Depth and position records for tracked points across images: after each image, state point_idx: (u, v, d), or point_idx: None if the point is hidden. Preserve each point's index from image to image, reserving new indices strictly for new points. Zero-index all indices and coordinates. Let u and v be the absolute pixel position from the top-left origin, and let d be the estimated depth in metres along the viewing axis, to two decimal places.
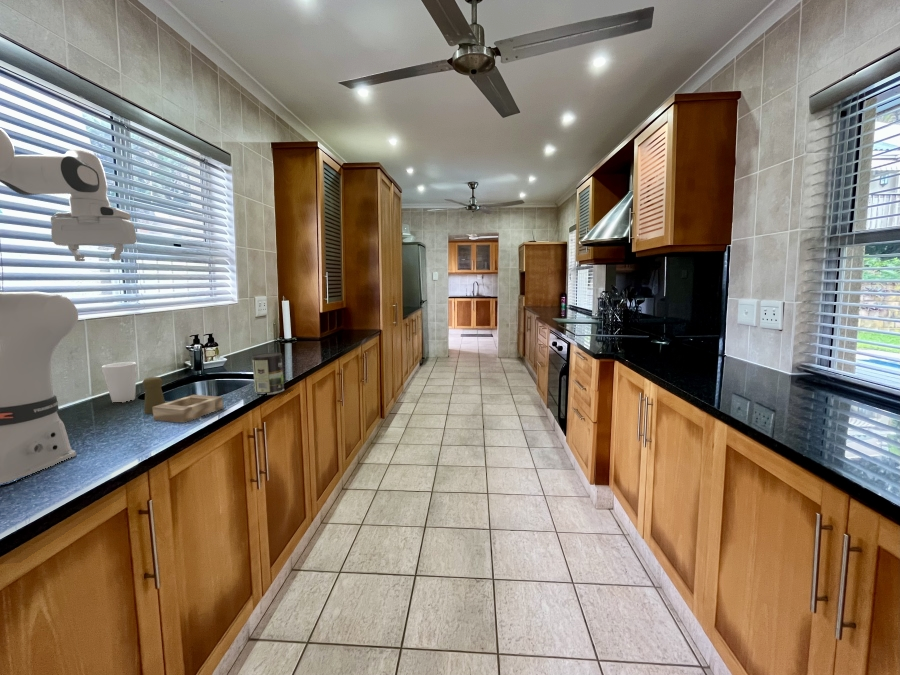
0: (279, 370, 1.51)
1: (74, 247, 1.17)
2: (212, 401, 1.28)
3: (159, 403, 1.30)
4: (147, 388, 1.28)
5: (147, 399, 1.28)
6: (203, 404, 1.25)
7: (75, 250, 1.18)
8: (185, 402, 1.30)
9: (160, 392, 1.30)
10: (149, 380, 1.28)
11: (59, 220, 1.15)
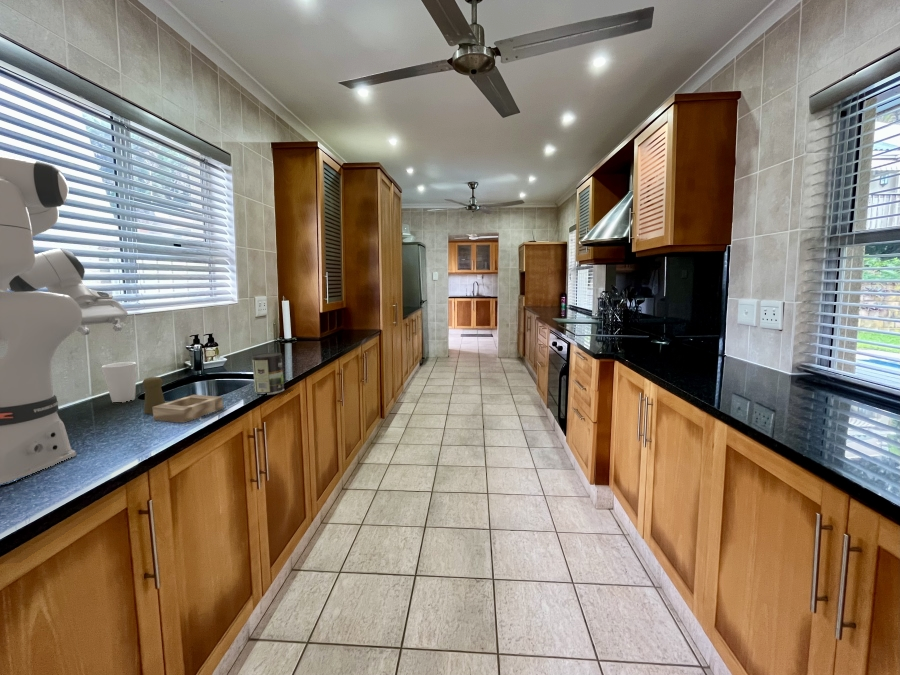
0: (279, 370, 1.51)
1: None
2: (212, 401, 1.28)
3: (159, 403, 1.30)
4: (147, 388, 1.28)
5: (147, 399, 1.28)
6: (203, 404, 1.25)
7: None
8: (185, 402, 1.30)
9: (160, 392, 1.30)
10: (149, 380, 1.28)
11: None
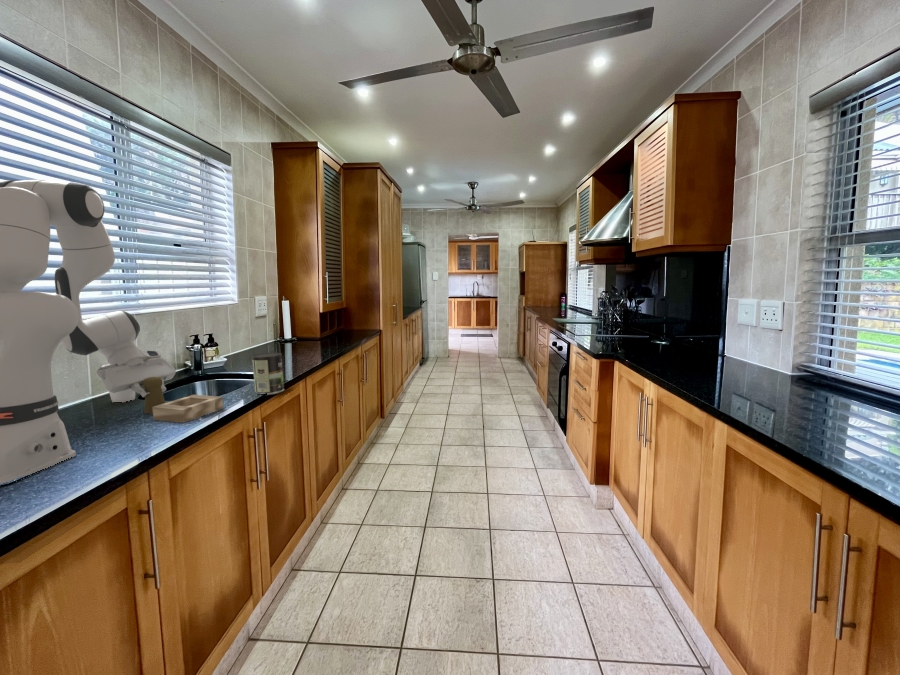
0: (279, 370, 1.51)
1: None
2: (212, 401, 1.28)
3: (159, 403, 1.30)
4: (147, 388, 1.28)
5: (147, 399, 1.28)
6: (203, 404, 1.25)
7: None
8: (185, 402, 1.30)
9: (160, 392, 1.30)
10: (149, 380, 1.28)
11: (112, 368, 1.24)
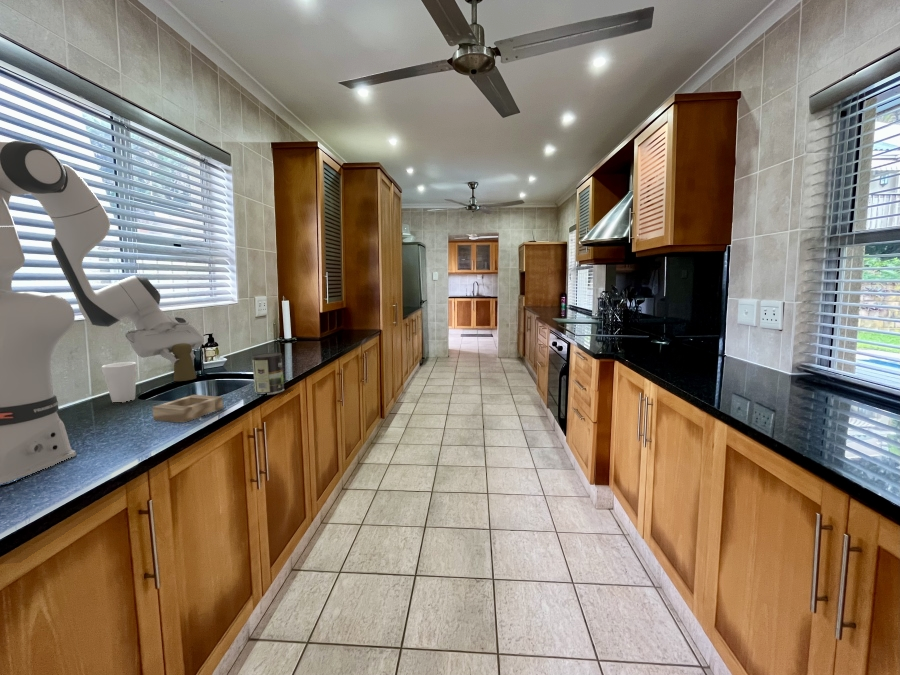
0: (279, 370, 1.51)
1: None
2: (212, 401, 1.28)
3: (189, 370, 1.24)
4: (177, 354, 1.22)
5: (176, 366, 1.23)
6: (203, 404, 1.25)
7: None
8: (185, 402, 1.30)
9: (190, 359, 1.25)
10: (179, 346, 1.22)
11: (141, 332, 1.19)
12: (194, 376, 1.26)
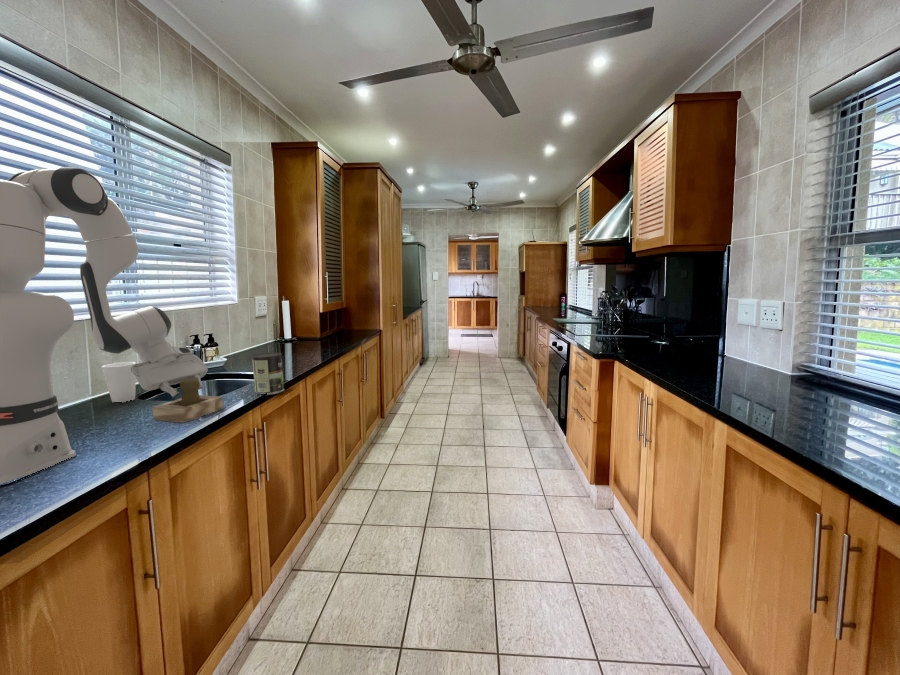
0: (279, 370, 1.51)
1: None
2: (212, 401, 1.28)
3: None
4: (185, 391, 1.23)
5: (184, 402, 1.24)
6: (203, 404, 1.25)
7: None
8: None
9: (197, 395, 1.26)
10: (187, 383, 1.23)
11: (146, 365, 1.20)
12: None
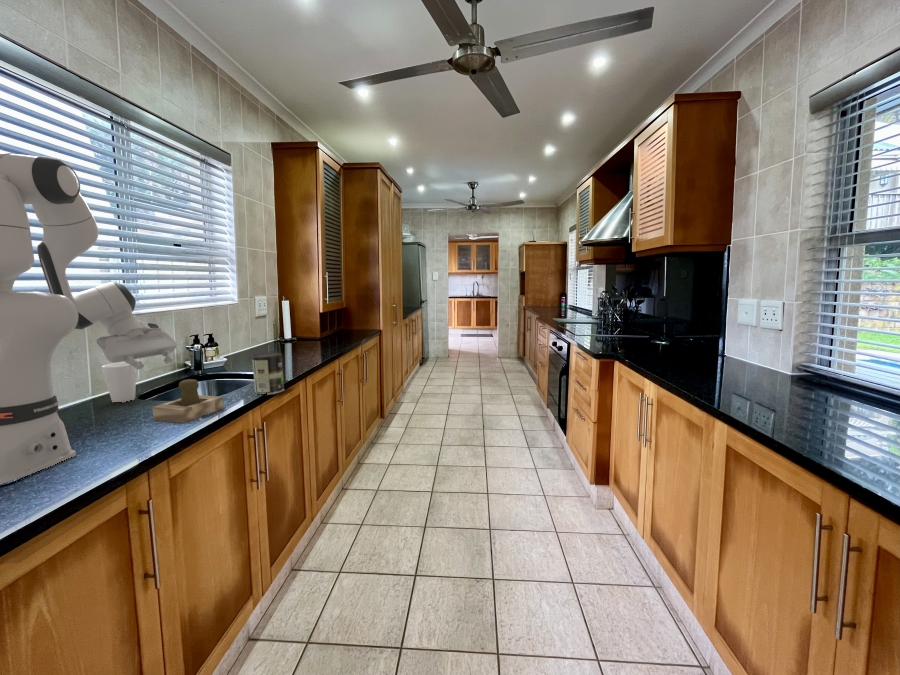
0: (279, 370, 1.51)
1: None
2: (212, 401, 1.28)
3: None
4: (184, 391, 1.24)
5: (184, 402, 1.24)
6: (203, 404, 1.25)
7: None
8: None
9: (197, 395, 1.26)
10: (186, 382, 1.24)
11: (112, 338, 1.23)
12: None
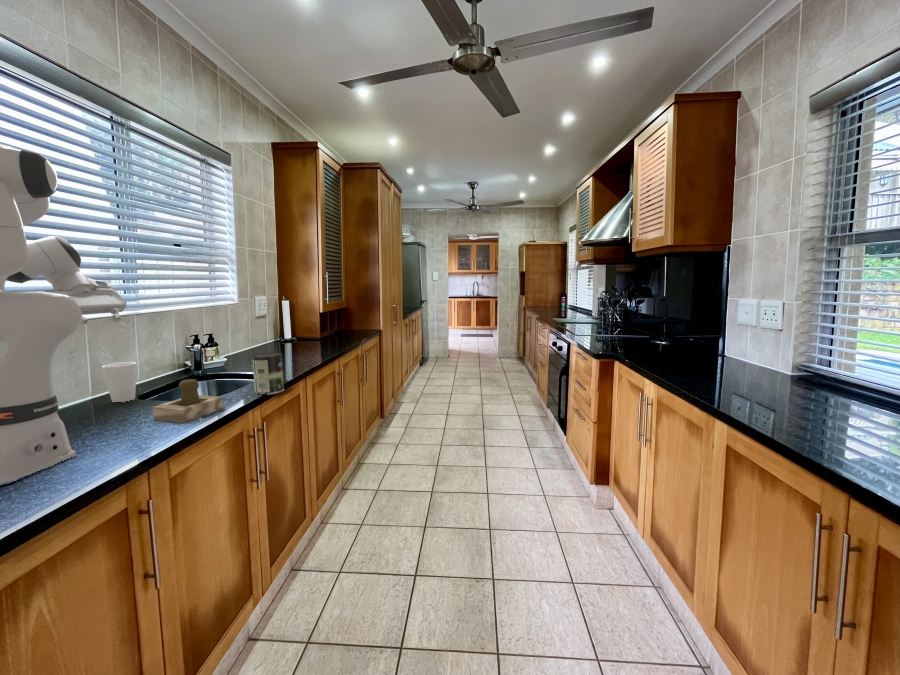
0: (279, 370, 1.51)
1: None
2: (212, 401, 1.28)
3: None
4: (184, 391, 1.24)
5: (184, 402, 1.24)
6: (203, 404, 1.25)
7: None
8: None
9: (197, 395, 1.26)
10: (186, 382, 1.24)
11: (55, 292, 1.21)
12: None
